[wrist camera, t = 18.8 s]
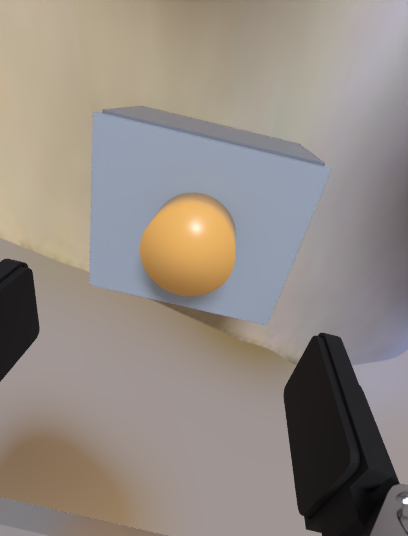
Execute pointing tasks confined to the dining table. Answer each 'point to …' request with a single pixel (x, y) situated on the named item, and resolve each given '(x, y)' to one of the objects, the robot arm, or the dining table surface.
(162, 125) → the storage box
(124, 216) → the lid
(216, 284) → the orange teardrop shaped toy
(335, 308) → the dining table surface
